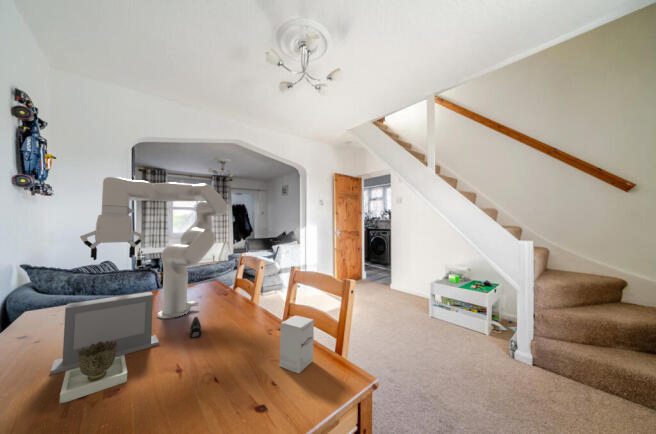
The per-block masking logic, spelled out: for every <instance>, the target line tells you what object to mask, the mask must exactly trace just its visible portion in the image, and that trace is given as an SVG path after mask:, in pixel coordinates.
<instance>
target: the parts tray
mask: <svg viewBox="0 0 656 434" xmlns="http://www.w3.org/2000/svg"><path fill="white" fill-rule="evenodd" d="M125 355H126V354H124V355H120V356H117V357H115V359H114V362H113V364H112V365H111V367H110V368H109V369H108V370H107V373H106V375H105V376H104V377H103V378H101V379H99V380H96V381H89V380H88V379H87V377H88V376H86V375H84V374H82V372H81V370H80V367H77V368H73V369H70V370H66V371H65V373H64V377H63V382H62V386H61V390H60V393H59V405H62V404H64V403H65V404H66V403H68V402H71V401H73V400H77V399H79V398H82V397H85V396H87V395H91V394H94V393H97V392H100V391H103V390H107V389H108V388H112V387H115V386H118V385H121V384H124V383H126V382H127V381H128V369H127V364H126V358H125ZM61 403H62V404H61Z"/></svg>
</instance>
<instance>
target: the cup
mask: <svg viewBox="0 0 656 434" xmlns="http://www.w3.org/2000/svg"><path fill="white" fill-rule="evenodd" d="M117 344H118V342H117V343H116V341H113V340H112V341H111V342H110V344H109V341H106V343H103V342H101V341H100V342H98V343H97V344H91V345H90V348H89V349H86V350H85V348H82V350H80V351H78V357H79V366H80V370H81V372H82V374H84V375H86V376H88V377H87V379H88V380H89V381H96V380H99V379H101V378H103V377H104V376H105V375H106V373H107V370H108V369H109V368H110V367H111V365H112V364H113V362H114V359H115V354H116V349H117Z"/></svg>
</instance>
